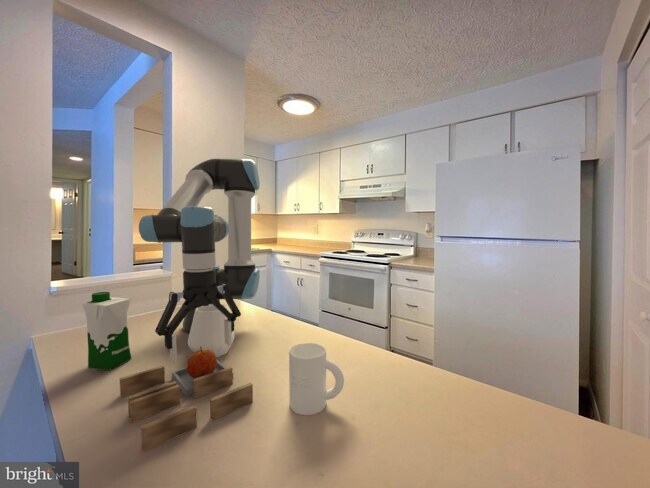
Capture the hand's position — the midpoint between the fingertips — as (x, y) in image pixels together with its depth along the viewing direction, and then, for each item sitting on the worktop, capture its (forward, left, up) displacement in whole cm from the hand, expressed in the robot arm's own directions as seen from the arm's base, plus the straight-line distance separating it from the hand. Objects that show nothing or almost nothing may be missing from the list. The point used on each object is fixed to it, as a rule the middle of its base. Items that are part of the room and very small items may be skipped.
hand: (202, 351), depth 74 cm
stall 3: (0, +12, -7) cm, 14 cm away
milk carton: (+16, -26, -7) cm, 31 cm away
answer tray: (0, 0, -7) cm, 7 cm away
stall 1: (+12, 0, -7) cm, 14 cm away
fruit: (0, +1, -6) cm, 7 cm away
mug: (-14, +28, -7) cm, 32 cm away
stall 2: (+12, +12, -7) cm, 19 cm away
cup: (-8, -14, -7) cm, 17 cm away
